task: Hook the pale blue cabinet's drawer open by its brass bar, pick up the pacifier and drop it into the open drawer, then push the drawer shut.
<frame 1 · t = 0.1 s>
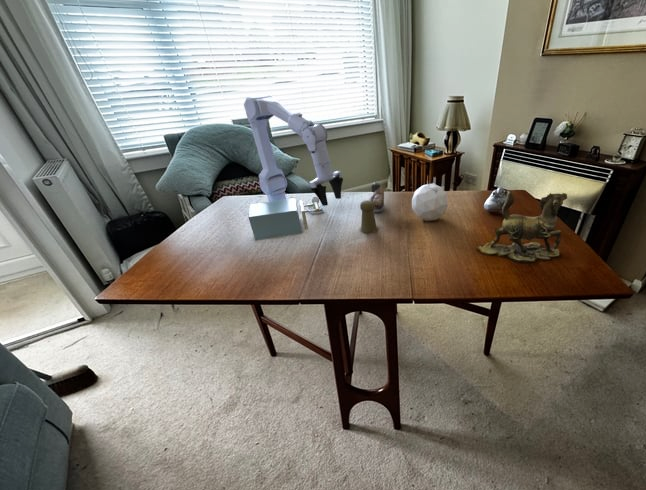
hand: (332, 201, 111), 11 cm above the table, tool pointing down, fingers open, 7 cm apart
cabinet: (278, 229, 118), on the table
figurine: (517, 252, 98), on the table
drawer: (292, 216, 117), point 5 cm above the table, slide at 1.5 cm
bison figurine: (376, 209, 131), on the table
cork: (369, 229, 115), on the table
pacifier: (316, 212, 131), on the table
geodesic sphere: (428, 218, 122), on the table
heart: (495, 213, 124), on the table
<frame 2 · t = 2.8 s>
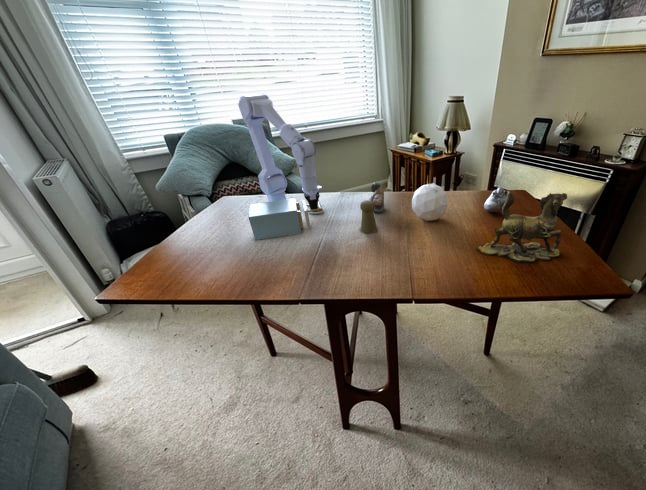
hand: (314, 211, 118), 5 cm above the table, tool pointing down, fingers closed, pressing on drawer
drawer: (294, 215, 117), point 5 cm above the table, slide at 2.5 cm, touching gripper
everything else where it was.
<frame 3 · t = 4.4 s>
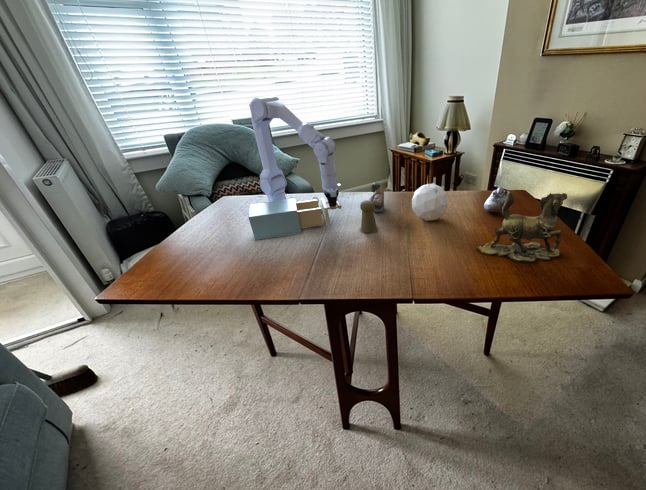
hand: (333, 208, 120), 5 cm above the table, tool pointing down, fingers closed, pressing on drawer
drawer: (313, 213, 118), point 5 cm above the table, slide at 9.9 cm, touching gripper
everything else where it was.
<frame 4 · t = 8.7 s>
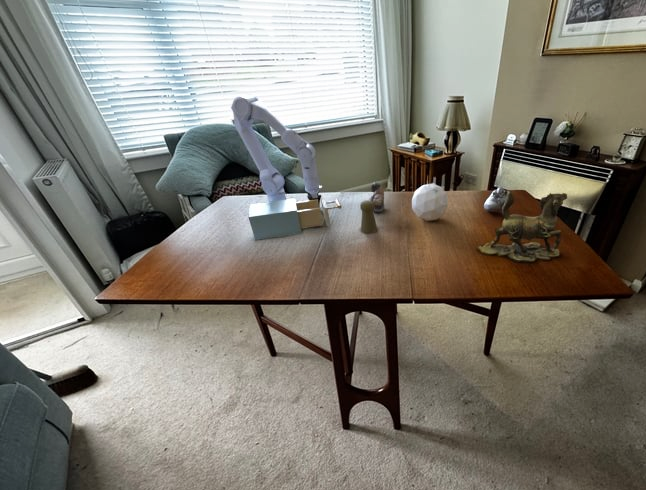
hand: (316, 208, 130), 1 cm above the table, tool pointing down, fingers closed on pacifier, 5 cm apart
drawer: (313, 213, 118), point 5 cm above the table, slide at 9.9 cm
pacifier: (317, 213, 130), on the table, touching gripper
everything else where it was.
when the fingers open (7 cm above the table, at t = 13.5 s): pacifier stays where it is, resting on drawer.
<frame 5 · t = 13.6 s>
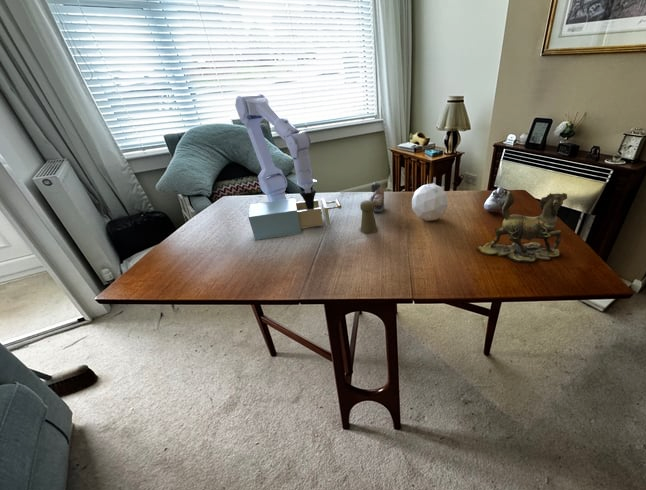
hand: (309, 205, 116), 8 cm above the table, tool pointing down, fingers open, 7 cm apart
drawer: (314, 213, 118), point 5 cm above the table, slide at 9.9 cm, touching pacifier
pacifier: (313, 220, 119), point 2 cm above the table, touching drawer
everything else where it was.
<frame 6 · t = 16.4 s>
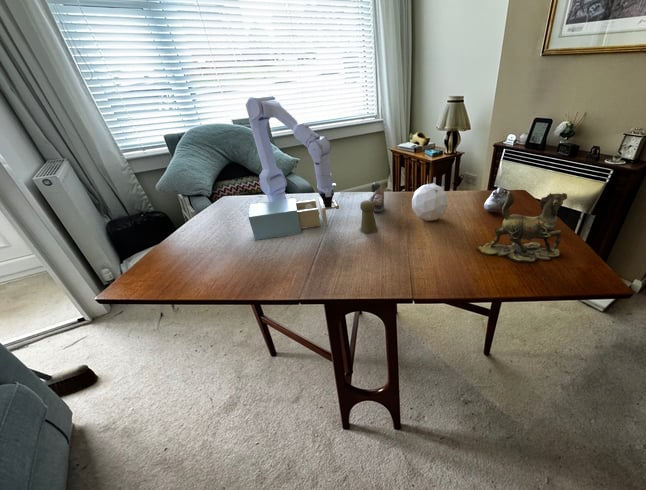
hand: (328, 208, 119), 5 cm above the table, tool pointing down, fingers closed, pressing on drawer
drawer: (311, 213, 118), point 5 cm above the table, slide at 8.9 cm, touching gripper, pacifier
everything else where it was.
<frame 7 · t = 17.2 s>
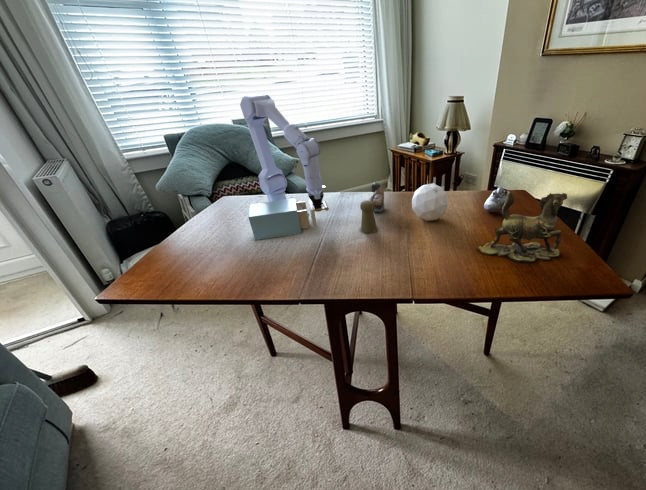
hand: (318, 210, 118), 5 cm above the table, tool pointing down, fingers closed, pressing on drawer
drawer: (301, 214, 117), point 5 cm above the table, slide at 4.9 cm, touching gripper, pacifier
pacifier: (300, 222, 118), point 2 cm above the table, touching drawer
everything else where it was.
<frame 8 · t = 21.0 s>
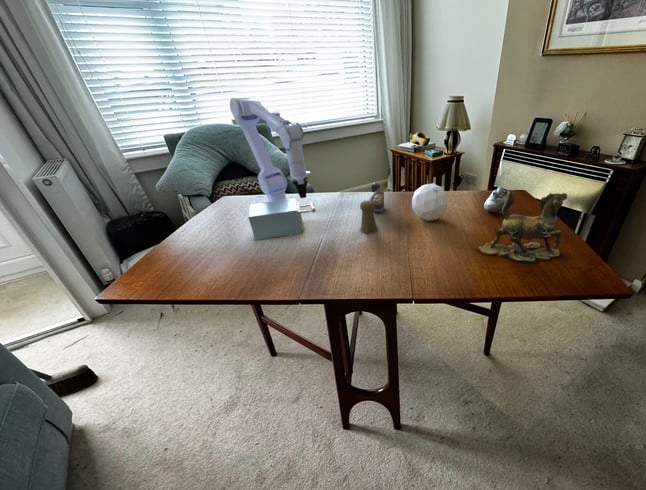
hand: (303, 197, 116), 10 cm above the table, tool pointing down, fingers closed
drawer: (288, 216, 116), point 5 cm above the table, slide at 0.0 cm, touching pacifier
pacifier: (287, 224, 117), point 2 cm above the table, touching drawer
everything else where it was.
at the end: pacifier inside the target area in the cabinet (3.4 cm from its centre), point 1.8 cm above the cabinet's base; drawer slide at 0.0 cm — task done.
